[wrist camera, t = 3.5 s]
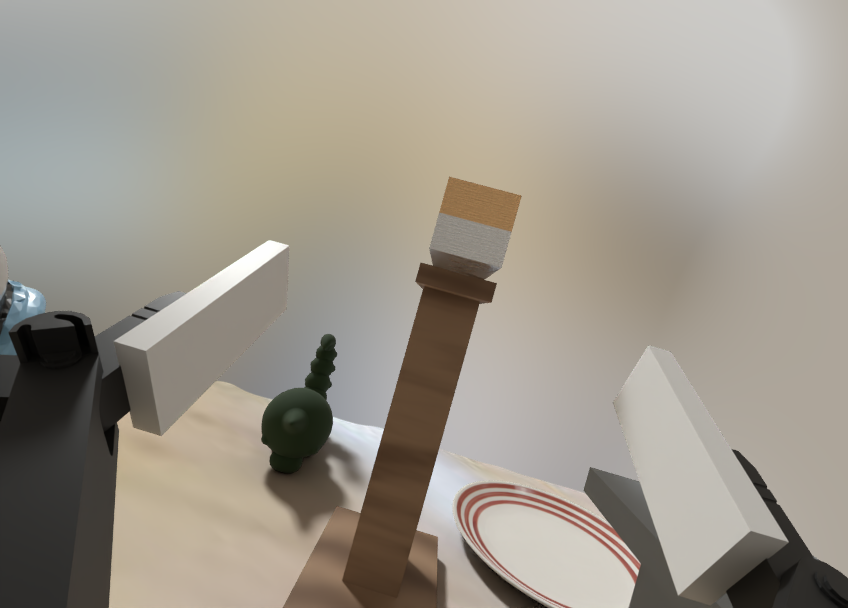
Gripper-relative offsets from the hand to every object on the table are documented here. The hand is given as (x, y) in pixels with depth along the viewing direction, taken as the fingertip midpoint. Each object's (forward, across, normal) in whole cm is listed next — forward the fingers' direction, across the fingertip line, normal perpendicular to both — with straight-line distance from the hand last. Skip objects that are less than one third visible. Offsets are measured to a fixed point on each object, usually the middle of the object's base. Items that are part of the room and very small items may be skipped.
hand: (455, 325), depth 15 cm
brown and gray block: (+17, 0, -6) cm, 18 cm away
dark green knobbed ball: (+26, -17, -46) cm, 55 cm away
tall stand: (+7, 0, -34) cm, 35 cm away
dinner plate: (+19, +21, -42) cm, 51 cm away
